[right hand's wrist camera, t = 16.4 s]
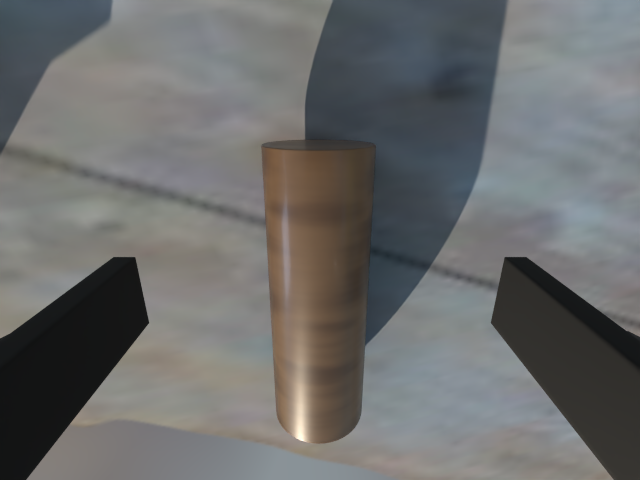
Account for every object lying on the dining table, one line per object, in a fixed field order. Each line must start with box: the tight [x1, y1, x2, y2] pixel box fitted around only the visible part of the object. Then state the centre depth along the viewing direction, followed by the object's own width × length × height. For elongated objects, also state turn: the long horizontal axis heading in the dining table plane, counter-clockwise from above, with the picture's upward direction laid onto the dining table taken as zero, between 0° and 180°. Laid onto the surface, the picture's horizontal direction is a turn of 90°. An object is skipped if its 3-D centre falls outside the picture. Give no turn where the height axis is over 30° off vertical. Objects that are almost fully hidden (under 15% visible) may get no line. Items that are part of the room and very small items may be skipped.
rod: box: [262, 140, 376, 444], centre depth 32 cm, size 27×9×9 cm, turn 0°
